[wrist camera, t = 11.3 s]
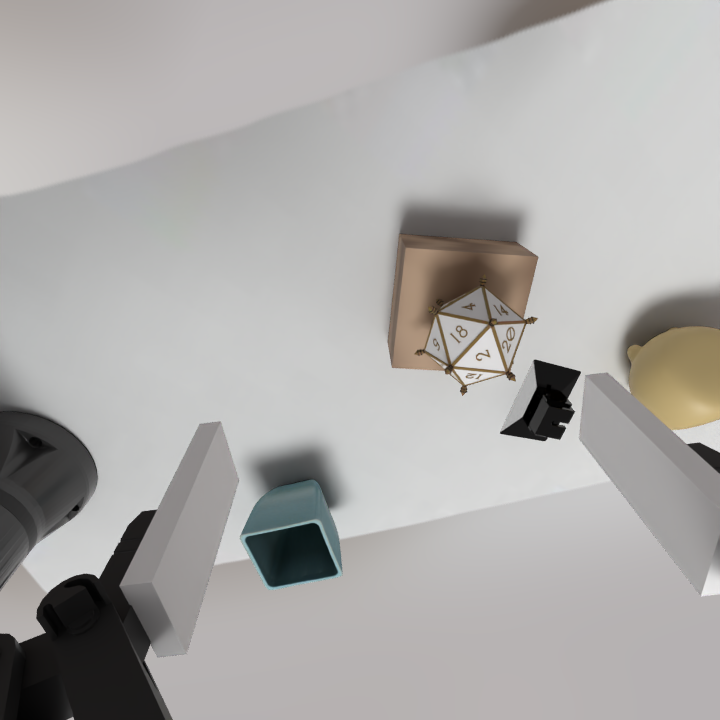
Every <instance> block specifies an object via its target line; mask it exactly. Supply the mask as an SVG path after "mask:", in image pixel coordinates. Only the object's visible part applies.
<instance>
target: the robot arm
mask: <svg viewBox="0 0 720 720" xmlns="http://www.w3.org/2000/svg"><path fill="white" fill-rule="evenodd" d="M579 439H580V441H581V442H582V443H583V445H584V446H585V447H586V448H587V450H588V451H589V452H590V454H591V455H592V456H593V458H594V459H595V460H596V461H597V463H598V464H599V465H600V467H601V468H602V469H603V470H604V472H605V473H606V474H607V476H608V477H609V478H610V479H611V481H612V482H613V483H614V485H615V486H616V487H617V489H618V490H619V491H620V492H621V494H622V495H623V496H624V498H625V499H626V500H627V501H628V503H629V504H630V505H631V507H632V508H633V509H634V510H635V512H636V513H637V514H638V516H639V517H640V518H641V519H642V521H643V522H644V523H645V525H646V526H647V527H648V528H649V530H650V531H651V532H652V534H653V535H654V536H655V538H656V539H657V540H658V541H659V543H660V544H661V545H662V547H663V548H664V549H665V551H666V552H667V553H668V554H669V556H670V557H671V558H672V560H673V561H674V562H675V563H676V565H677V566H678V567H679V569H680V570H681V571H682V573H683V574H684V575H685V576H686V578H687V579H688V580H689V581H690V583H691V584H692V585H693V587H694V588H695V589H696V591H697V592H698V593H699V594H700V596H708V595H717V594H720V453H719V452H717V451H715V450H713V449H711V448H709V447H707V446H705V445H703V444H701V443H692V444H686V443H685V442H684V441H683V440H681V439H680V438H679V437H678V436H677V435H676V434H675V433H674V432H673V431H671V430H670V429H669V428H668V427H667V426H666V425H665V424H664V423H663V422H661V421H660V420H659V419H658V418H657V417H656V416H655V415H654V414H653V413H651V412H650V411H649V410H648V409H647V408H646V407H645V406H644V405H643V404H642V403H640V402H639V401H638V400H637V399H636V398H635V397H634V396H633V395H632V394H630V393H629V392H628V391H627V390H626V389H625V388H624V387H623V386H622V385H620V384H619V383H618V382H617V381H616V380H615V379H614V378H613V377H612V376H611V375H609V374H608V373H599V374H591V375H585V384H584V394H583V404H582V413H581V423H580V433H579ZM238 482H239V478H238V475H237V472H236V469H235V466H234V462H233V459H232V456H231V453H230V450H229V447H228V443H227V440H226V437H225V434H224V431H223V428H222V424H221V421H220V422H212V423H204V424H200V425H199V427H198V429H197V431H196V433H195V435H194V437H193V439H192V441H191V443H190V445H189V447H188V449H187V451H186V453H185V455H184V457H183V459H182V461H181V463H180V465H179V467H178V469H177V471H176V473H175V475H174V477H173V479H172V481H171V483H170V485H169V487H168V489H167V491H166V493H165V495H164V497H163V499H162V501H161V503H160V505H159V507H158V509H157V510H150V511H142V512H141V513H140V514H139V515H138V516H137V517H136V518H135V519H134V520H133V521H132V522H131V523H130V524H129V525H128V527H127V529H126V531H125V532H124V534H123V536H122V538H121V542H120V543H118V545H117V547H116V549H115V551H114V555H112V556H111V558H110V560H109V562H108V563H107V565H106V567H105V569H104V571H103V572H102V574H101V576H100V578H99V579H98V578H97V577H96V576H95V575H91V574H81V575H76V576H73V577H71V578H69V579H67V580H65V581H63V582H61V583H60V584H59V585H57V586H56V587H55V588H53V589H52V590H51V591H50V592H49V593H48V594H47V595H46V596H45V597H44V598H43V600H42V601H41V603H40V605H39V607H38V609H37V617H36V618H37V620H38V622H39V623H40V624H41V626H42V627H43V629H44V630H45V632H46V633H44V634H42V635H39V636H37V637H34V638H32V639H29V640H27V641H24V642H22V643H18V642H17V641H16V639H15V638H14V637H13V636H11V635H10V634H0V720H67V719H69V718H71V717H74V720H173V719H172V717H171V715H170V713H169V711H168V709H167V707H166V705H165V703H164V700H163V698H162V696H161V694H160V692H159V690H158V688H157V686H156V683H155V681H154V679H153V677H152V675H151V673H150V671H149V669H148V666H147V665H146V663H145V661H144V659H145V657H146V654H147V651H148V649H149V646H150V644H151V646H152V648H153V650H154V652H155V654H156V655H157V657H166V656H174V655H184V654H187V651H188V648H189V645H190V641H191V638H192V635H193V631H194V628H195V625H196V621H197V618H198V615H199V611H200V608H201V605H202V602H203V598H204V594H205V592H206V588H207V585H208V582H209V578H210V575H211V572H212V568H213V565H214V562H215V559H216V555H217V552H218V549H219V545H220V542H221V539H222V535H223V532H224V529H225V525H226V522H227V519H228V516H229V512H230V509H231V506H232V502H233V499H234V496H235V492H236V489H237V486H238ZM96 485H97V472H96V468H95V464H94V462H93V460H92V458H91V456H90V454H89V453H88V451H87V450H86V448H85V447H84V446H83V445H82V444H81V443H80V442H79V441H78V440H77V439H76V438H75V437H74V436H73V435H72V434H70V433H69V432H68V431H66V430H65V429H63V428H62V427H60V426H58V425H56V424H55V423H53V422H51V421H48V420H46V419H43V418H41V417H38V416H34V415H31V414H26V413H20V412H0V591H1V589H2V588H3V587H4V585H5V584H6V583H7V582H8V580H9V579H10V578H11V576H12V575H13V574H14V572H15V571H16V569H17V568H18V567H19V565H20V564H21V563H22V562H23V560H24V559H25V558H26V556H27V555H28V554H29V552H30V551H31V550H32V548H33V547H34V546H35V545H36V544H37V543H39V542H40V541H41V540H43V539H44V538H46V537H47V536H48V535H50V534H51V533H53V532H54V531H56V530H57V529H58V528H60V527H61V526H63V525H64V524H65V523H67V522H68V521H70V520H71V519H72V518H74V517H75V516H76V515H77V514H78V513H79V512H80V511H81V510H82V509H83V508H84V506H85V505H86V504H87V502H88V501H89V499H90V498H91V497H92V495H93V493H94V491H95V488H96Z"/></svg>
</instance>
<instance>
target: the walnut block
mask: <svg viewBox="0 0 720 720" xmlns="http://www.w3.org/2000/svg"><path fill="white" fill-rule="evenodd" d="M537 260H538V256H536V255H535V254H533V253H532V252H530V251H529V250H527V249H526V248H524V247H523V246H521V245H520V244H518V243H517V242H508V241H493V240H479V239H465V238H450V237H436V236H421V235H407V234H399V242H398V251H397V261H396V270H395V279H394V289H393V298H392V307H391V317H390V326H389V335H388V347H389V353H390V359H391V365H392V368H405V369H423V370H441V371H445V370H444V369H443V368H442V367H441V366H439V365H438V364H437V363H436V362H435V361H434V360H432V359H431V358H430V357H429V356H428V355H427V354H425V353H424V354H423V355H420V356H418V355H415V352H416V351H417V350H420V349H424V347H425V344H426V341H427V337H428V334H429V331H430V328H431V324H432V321H433V318H434V314H431V312H430V313H429V309H428V307H430V306H434V308H436V309H437V310H438V309H439V308H440V307H441V306H439V305H437V303H436V302H437V300H436V299H442V301H444V302H443V303H446V302H448V301H450V300H452V299H454V298H456V297H458V296H460V295H462V294H464V293H466V292H468V291H470V290H472V289H474V288H476V287H478V286H480V282H479V281H480V278H481V277H482V276H483V275H484V274H485V276H486V279H487V280H486V283H485V287H486V288H487V289H488V290H490V291H491V292H492V293H493V294H494V295H496V296H497V297H498V298H499V299H500V300H502V301H503V302H504V303H505V304H506V305H508V306H509V307H510V308H511V309H513V310H514V311H515V312H516V313H517V314H519V315H520V316H521V317H522V318H524V314H525V309H526V305H527V301H528V297H529V293H530V289H531V285H532V281H533V277H534V273H535V269H536V264H537ZM511 367H512V365H511ZM510 371H511V368H510ZM510 371H509V372H510Z"/></svg>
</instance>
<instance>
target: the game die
mask: <svg viewBox="0 0 720 720" xmlns="http://www.w3.org/2000/svg"><path fill="white" fill-rule="evenodd" d="M486 280H487V279H486V276H485V274H484V275H483V276H482V277H481V278H480V281H479V282H480V286H478V287H476V288H474V289H472V290H470V291H468V292H466V293H464V294H462V295H460V296H458V297H456V298H454V299H452V300H450V301H448V302H446V303H443V302H444V301H442V299H436V300H437V302H436V303H437V305H439V306H441V307H440V308H439V309H438V310H437V309H436V308H434V306H430V307H428V309H429V313H430V312H431V314H434V318H433V321H432V324H431V328H430V331H429V334H428V337H427V341H426V344H425V347H424V349H420V350H417V351H416V352H415V355H418V356H420V355H423V354H424V353H425V354H427V355H428V356H429V357H430V358H431V359H432V360H434V361H435V362H436V363H437V364H438V365H439V366H441V367H442V368H443V369H444V370H445V374H450V375H451V376H452V377H453V378H455V379H456V380H457V381H458V382H459V383H460V384H462V387H461V390H460V392H461V393H462V396H463V395H464V394H465V393H466V392H467V387H466V386H467V385H471V384H474V383H478V382H481V381H484V380H488V379H491V378H494V377H498V376H501V375H505V374H506V375H507V378H509V380H513V381H516V380H515V375H513V373H512V372H509V371H510V368H511V365H512V364H513V360H514V357H515V354H516V351H517V349H518V346H519V343H520V340H521V337H522V335H523V332H524V329H525V326H526V324H531V323H533V324H534V322H535V321H536V320H537V319H538V318H534V317H531V318H528V319H526V320H525V319H523V318H522V317H521V316H520V315H519V314H517V313H516V312H515V311H514V310H513V309H511V308H510V307H509V306H508V305H506V304H505V303H504V302H503V301H502V300H500V299H499V298H498V297H497V296H496V295H494V294H493V293H492V292H491V291H490V290H488V289H487V288H486V287H485V283H486Z"/></svg>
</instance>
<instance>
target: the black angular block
mask: <svg viewBox="0 0 720 720" xmlns="http://www.w3.org/2000/svg"><path fill="white" fill-rule="evenodd" d="M580 374H581V372H580V371H577V370H573V369H569V368H565V367H562V366H558V365H554V364H550V363H546V362H542V361H539V360H534V361H533V363H532V365H531V367H530V369H529V371H528V374H527V376H526V378H525V380H524V382H523V384H522V386H521V389H520V391H519V393H518V395H517V397H516V399H515V401H514V404H513V406H512V408H511V410H510V412H509V414H508V416H507V419H506V421H505V423H504V425H503V427H502V429H501V432H500V434H505V435H511V436H517V437H523V438H528V439H534V440H540V441H546V440H547V438H548V437H549V438H554V439H559V440H560V439H561V437H562V435H563V433H564V431H565V429H566V427H565V426H563V425H559V423H560V422H562V423H567V424H569V422H570V420H571V418H572V416H573V414H574V413H575V411H574V410H573V409H572V408H571V406H572V404H571V402H570V401H569V400H568V397H569V395H570V393H571V391H572V389H573V387H574V385H575V383H576V381H577V379H578V377H579V375H580Z"/></svg>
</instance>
